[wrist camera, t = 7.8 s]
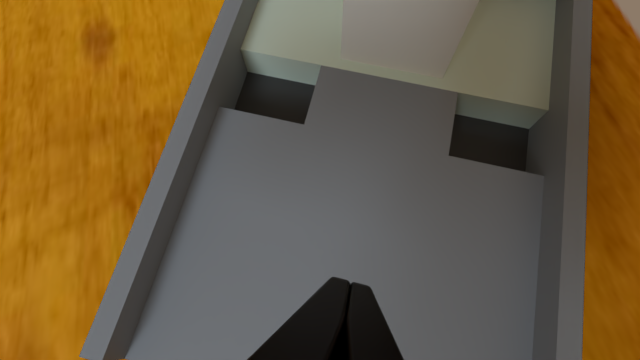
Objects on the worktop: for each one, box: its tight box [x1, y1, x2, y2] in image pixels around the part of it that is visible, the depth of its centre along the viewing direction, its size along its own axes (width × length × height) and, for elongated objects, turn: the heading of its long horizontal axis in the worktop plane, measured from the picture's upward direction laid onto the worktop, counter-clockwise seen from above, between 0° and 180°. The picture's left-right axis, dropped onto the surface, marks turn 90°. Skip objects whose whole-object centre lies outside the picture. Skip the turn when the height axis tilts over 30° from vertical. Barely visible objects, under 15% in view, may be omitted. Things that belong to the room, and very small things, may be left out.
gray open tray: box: [79, 0, 593, 360], centre depth 22 cm, size 26×20×5 cm
